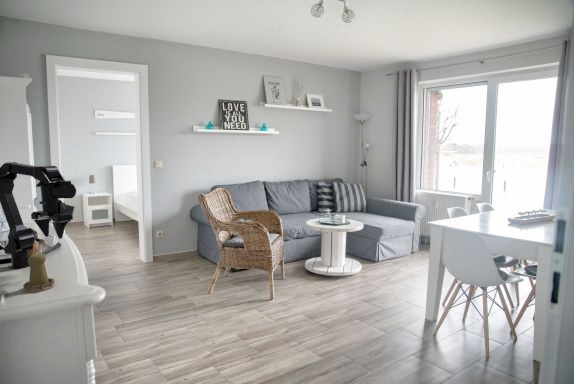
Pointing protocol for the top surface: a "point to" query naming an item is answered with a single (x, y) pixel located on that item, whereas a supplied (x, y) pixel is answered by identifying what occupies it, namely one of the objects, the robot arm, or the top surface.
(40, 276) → the cork
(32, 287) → the walnut stand
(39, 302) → the top surface
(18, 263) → the robot arm
